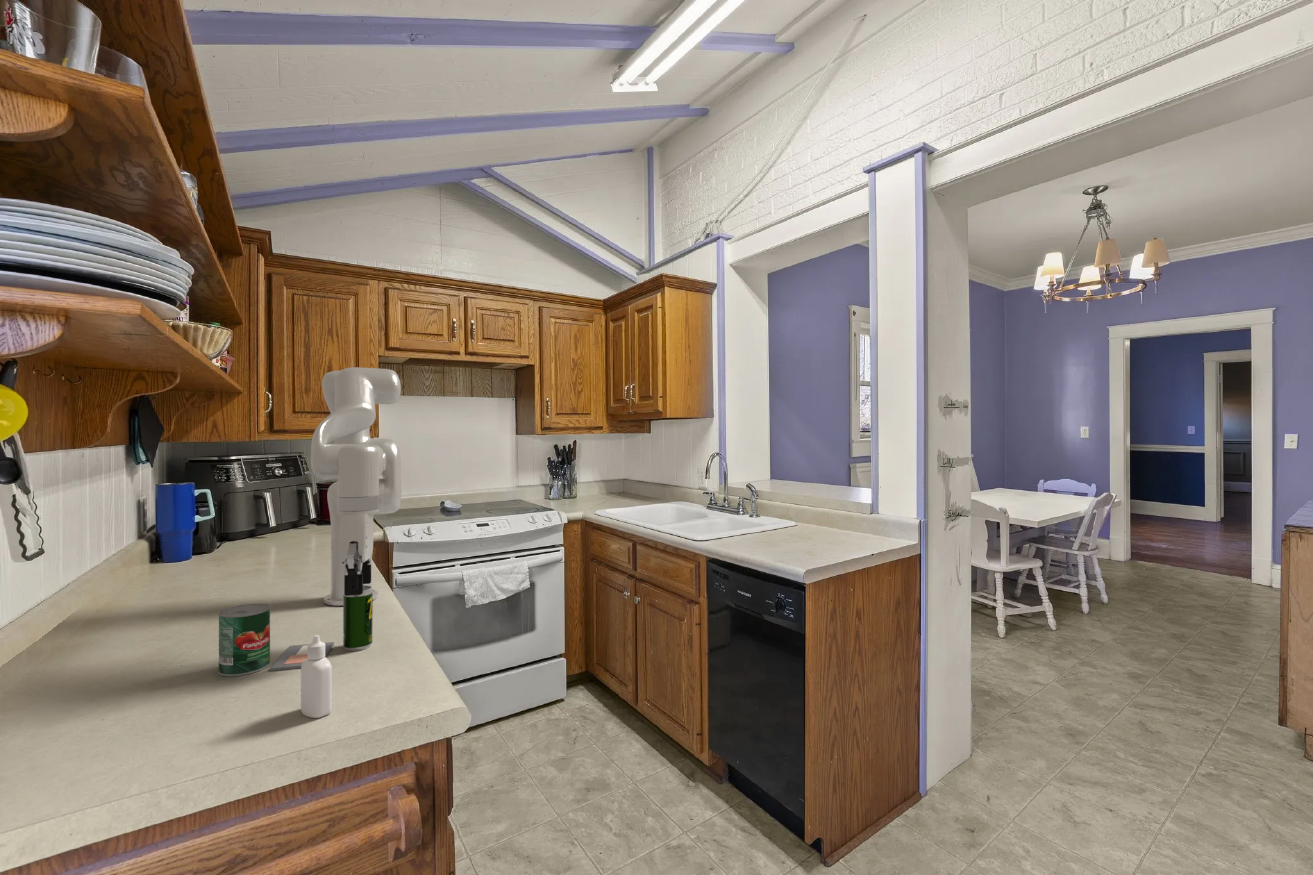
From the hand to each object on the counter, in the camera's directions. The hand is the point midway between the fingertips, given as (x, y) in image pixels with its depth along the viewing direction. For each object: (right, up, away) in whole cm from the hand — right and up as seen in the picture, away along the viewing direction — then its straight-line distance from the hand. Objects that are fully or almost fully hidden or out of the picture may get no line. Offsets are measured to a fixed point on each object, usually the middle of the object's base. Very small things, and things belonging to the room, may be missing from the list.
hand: (358, 589), depth 119 cm
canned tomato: (-16, -12, -11) cm, 23 cm away
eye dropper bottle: (+7, -12, -27) cm, 31 cm away
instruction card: (-8, -12, -5) cm, 15 cm away
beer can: (0, -12, +1) cm, 12 cm away
